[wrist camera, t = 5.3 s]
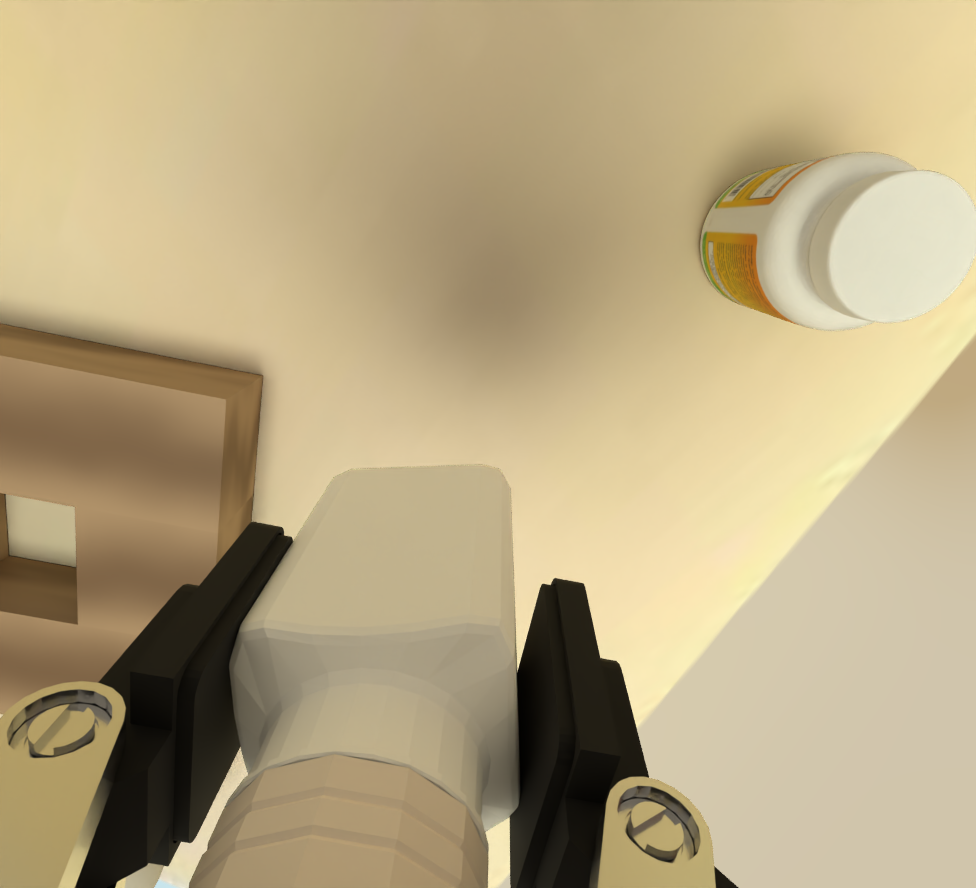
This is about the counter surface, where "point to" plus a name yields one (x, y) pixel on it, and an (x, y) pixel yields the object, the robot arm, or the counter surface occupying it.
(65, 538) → the counter surface
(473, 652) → the pepper shaker
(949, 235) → the supplement bottle
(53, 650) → the socket block
